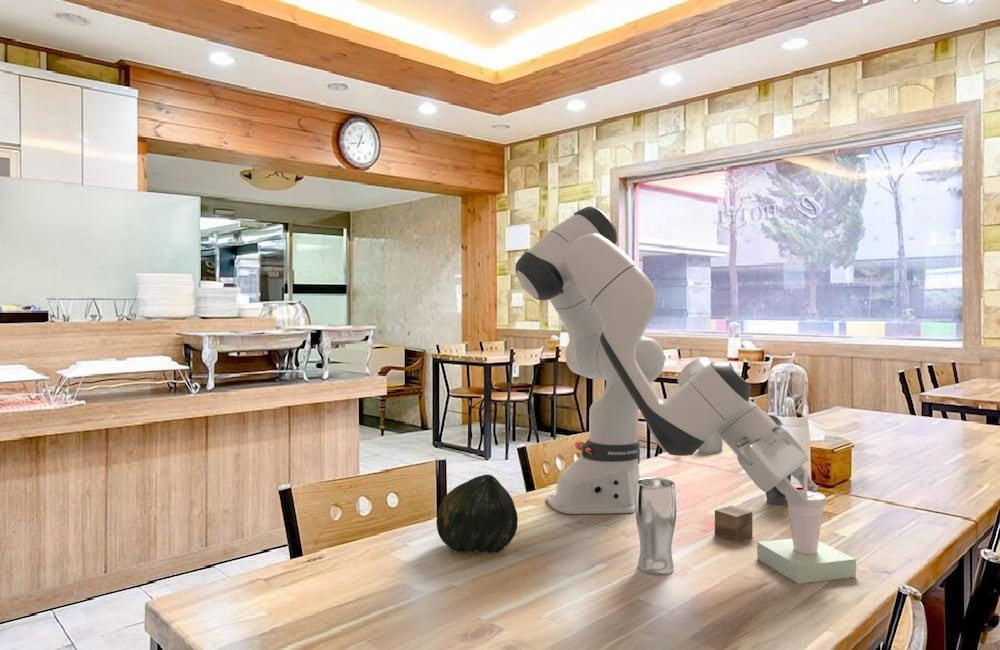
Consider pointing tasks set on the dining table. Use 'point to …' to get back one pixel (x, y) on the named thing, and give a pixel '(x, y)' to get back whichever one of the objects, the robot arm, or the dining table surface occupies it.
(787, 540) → the pedestal
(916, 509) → the dining table surface
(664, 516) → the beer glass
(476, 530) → the squash
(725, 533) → the brick
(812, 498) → the smoothie
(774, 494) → the beverage cup
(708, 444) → the grey tapered block
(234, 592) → the dining table surface
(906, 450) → the dining table surface
